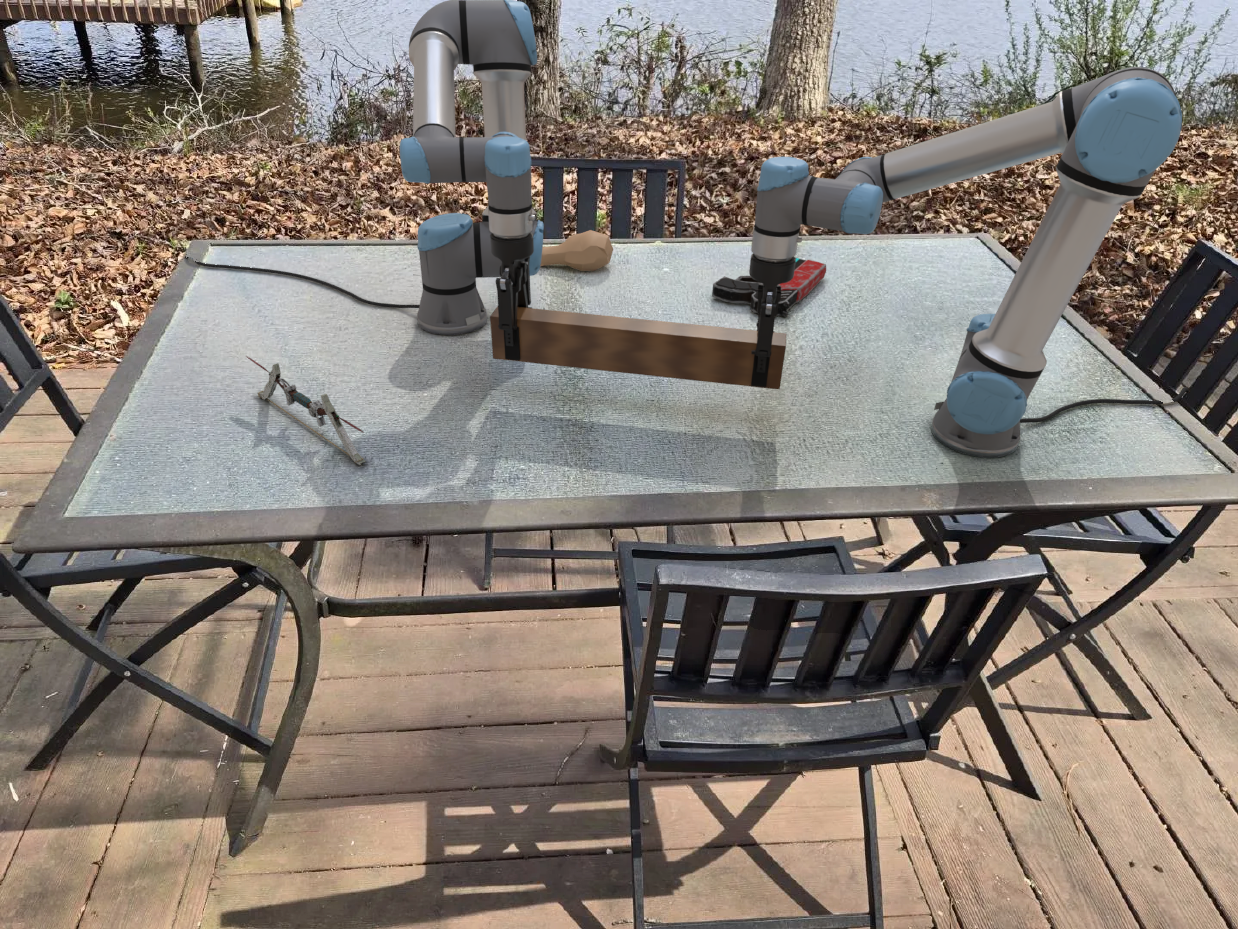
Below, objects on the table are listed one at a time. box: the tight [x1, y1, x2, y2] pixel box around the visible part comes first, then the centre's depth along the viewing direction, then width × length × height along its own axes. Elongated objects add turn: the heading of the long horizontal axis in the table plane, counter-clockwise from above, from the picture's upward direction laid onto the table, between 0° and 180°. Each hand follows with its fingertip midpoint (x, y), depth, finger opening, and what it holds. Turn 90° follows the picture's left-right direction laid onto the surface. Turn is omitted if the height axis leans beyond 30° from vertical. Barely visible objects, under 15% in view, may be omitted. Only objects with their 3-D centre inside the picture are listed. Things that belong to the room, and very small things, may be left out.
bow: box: [245, 355, 367, 466], centre depth 155 cm, size 39×2×10 cm, turn 47°
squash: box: [540, 229, 614, 272], centre depth 224 cm, size 11×20×9 cm, turn 90°
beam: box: [489, 305, 787, 390], centre depth 161 cm, size 54×5×9 cm, turn 80°
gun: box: [711, 257, 827, 318], centre depth 215 cm, size 4×31×19 cm
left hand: (517, 351), depth 166 cm, fingers closed on beam, 5 cm apart
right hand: (758, 377), depth 160 cm, fingers closed on beam, 5 cm apart
